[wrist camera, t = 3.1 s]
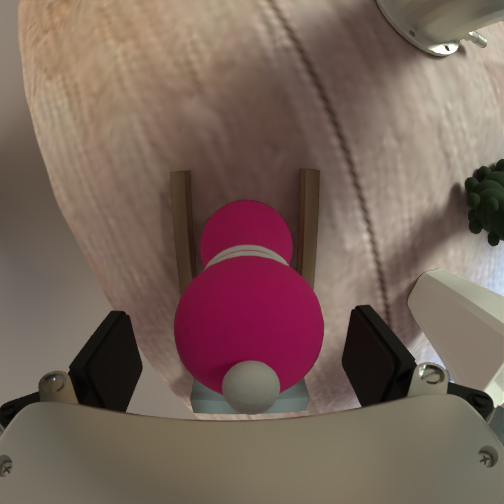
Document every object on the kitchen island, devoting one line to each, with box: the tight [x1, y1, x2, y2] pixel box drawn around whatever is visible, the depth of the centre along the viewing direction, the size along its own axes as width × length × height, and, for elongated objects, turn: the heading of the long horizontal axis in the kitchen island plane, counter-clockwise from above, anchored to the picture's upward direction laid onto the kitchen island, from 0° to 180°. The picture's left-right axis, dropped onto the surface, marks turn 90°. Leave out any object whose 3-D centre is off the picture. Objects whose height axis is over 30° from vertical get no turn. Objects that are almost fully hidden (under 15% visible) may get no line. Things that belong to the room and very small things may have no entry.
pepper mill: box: [174, 200, 324, 415], centre depth 16 cm, size 7×7×20 cm
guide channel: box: [171, 169, 320, 414], centre depth 25 cm, size 12×24×6 cm, turn 1°
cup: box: [407, 268, 504, 408], centre depth 21 cm, size 11×10×17 cm
